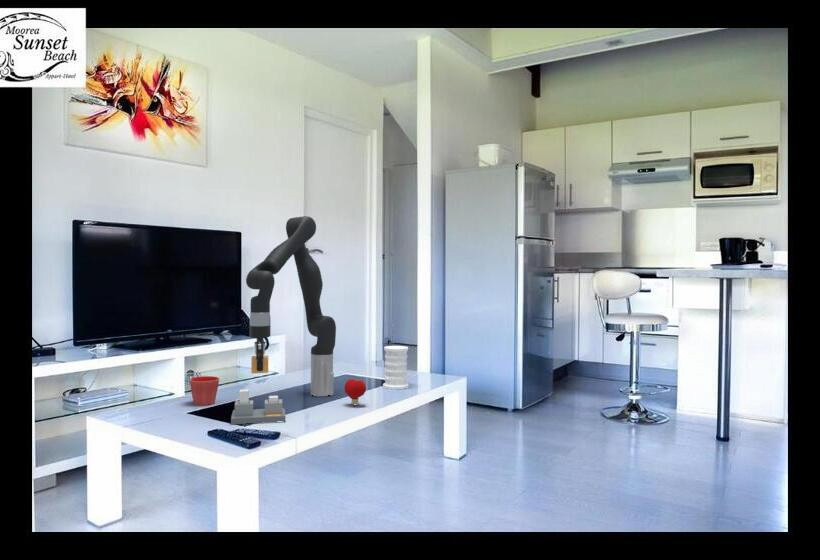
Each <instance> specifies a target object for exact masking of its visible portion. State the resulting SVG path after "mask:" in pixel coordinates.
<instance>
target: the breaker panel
mask: <svg viewBox="0 0 820 560" xmlns="http://www.w3.org/2000/svg"><path fill="white" fill-rule="evenodd" d="M239 401H240V400H235V402H234V409H233V410H232V413H231V418H230V425H247V424H246V423H253V424H263V423H262V422H275V423H278V422H277V421H285V422H286V410H285V409H286V408H284V407H283V399H282V398H281V399H280V398H278V402H272V403H269V399H264V408H255V409H254V400H253V399H249V403H246V404H239Z"/></svg>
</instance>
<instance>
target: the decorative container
mask: <svg viewBox="0 0 820 560" xmlns="http://www.w3.org/2000/svg"><path fill="white" fill-rule="evenodd" d="M383 350H384V351H385V355H384V358H385V361H384V366H385V367H384V375H385V376H384V381H385V382H384V383H383V384H382V387H383V386H384V387H387V388H406V387H408V386H409V383H408V382H407V381H408V375H407V372H408V369H407V368H408V367H407V366H408V361H407V359H408V354H407V353H408V351H409V347H408V346H404V345H386V346H384V347H383ZM408 388H409V387H408Z"/></svg>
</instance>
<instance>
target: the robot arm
mask: <svg viewBox="0 0 820 560" xmlns="http://www.w3.org/2000/svg"><path fill="white" fill-rule="evenodd" d="M285 230H286V231H285V232H286V235H287V239H285V240H284V241H283V242H281V243H280V244H279V245H277V246H276V247H274V248H273V249H272V250H271V251H270V252H269V253H268V255H267V256H266V257H265V258H264V259H263V261H262V262H260V263H258V264H257V265H256V266H254V267H253V268H252V269H251V270H250V271H249V272H248V273H247V275H246V278H245V282H246V283H245V284H246V285H247V287H248V288H249V289H251V290H258V293H257V295H255V296H252V297H251V298H250V311H249V312H250V313H249V337H250V338H253V339H256V341H254V348H255V349H254V354H255V355H254V356H256V361H257V371H263V360H264V357H263V356H265V354H266V353H265V352H266V344H267V343H266V341H265V340H264V338H270V337H271V329H272V328H271V327H272V326H271V322H272V321H271V298H272V296H273V291H274V289H275V288H274V287H275V283H276V282H275V277H274V275H276V274H278V273H280V271H281V270H282V269H283V267H284V266H285V265H286V263H287V262H288V261H289V260H290V258H291V257H292V256H293V259H294V263H295V266H296V272H297V275H298V276H297V277H298V280H299V287H300V289H301V295H302V299H303V303H304V304H303V305H304V308H305V309H304V310H305V318H306V319H305V321H306V326H307V331H308V332H309V334H310V335H311V336H313V337H316V344H315V345H312V346H311V349H310V396H312V395H313V397H329V396H328V395H330V396H334V349H335V346H336V335H337V334H336V333H337V324H336V321H335V319H334V318H333V317H332V316H329V315H323V313H322V308H321V302H320V301H321V296H322V291H323V284H324V282H323V279H322V278H323V276H322V272H321V269H320V267H319V265H318V263H317V262H316V260H315V259H314V258H313V257H312V256H311V254H310V253H309V251H308V248H307V247H306V243H307V242H308V241H309V240H311V239H312V237H314V235H315V234H316V231H317V223H316V221H315V220H314V218H312V217H311V216H308V215H307V216H296V217H291V218H288V219H287V221H286V224H285Z"/></svg>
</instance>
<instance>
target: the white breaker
mask: <svg viewBox="0 0 820 560" xmlns="http://www.w3.org/2000/svg"><path fill="white" fill-rule="evenodd" d="M278 399H279V395H269V396H268V400H269V403H272V402H278Z"/></svg>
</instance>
